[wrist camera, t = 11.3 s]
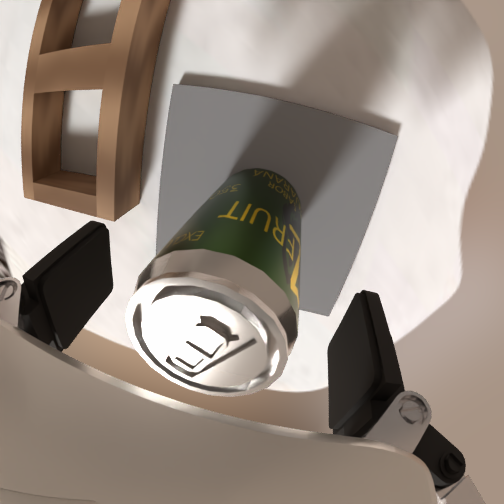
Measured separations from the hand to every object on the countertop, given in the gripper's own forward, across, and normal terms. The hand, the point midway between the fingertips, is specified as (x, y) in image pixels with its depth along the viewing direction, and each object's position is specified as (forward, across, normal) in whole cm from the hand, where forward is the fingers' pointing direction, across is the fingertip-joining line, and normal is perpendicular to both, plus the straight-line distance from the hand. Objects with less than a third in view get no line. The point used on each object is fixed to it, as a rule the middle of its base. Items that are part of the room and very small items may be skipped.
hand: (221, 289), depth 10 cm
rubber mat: (+10, 0, 0) cm, 10 cm away
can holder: (+10, +14, -8) cm, 19 cm away
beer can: (+10, 0, 0) cm, 10 cm away
